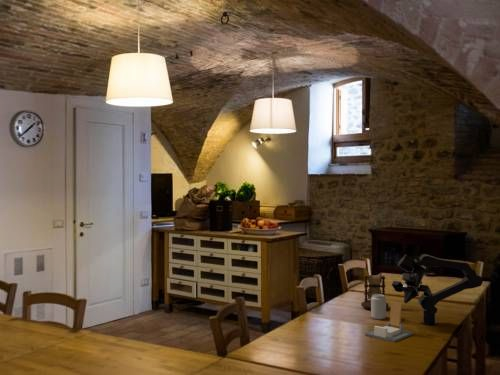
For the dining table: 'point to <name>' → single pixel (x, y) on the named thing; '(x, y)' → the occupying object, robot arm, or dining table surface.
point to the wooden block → (395, 313)
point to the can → (378, 306)
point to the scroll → (373, 288)
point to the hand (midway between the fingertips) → (405, 302)
